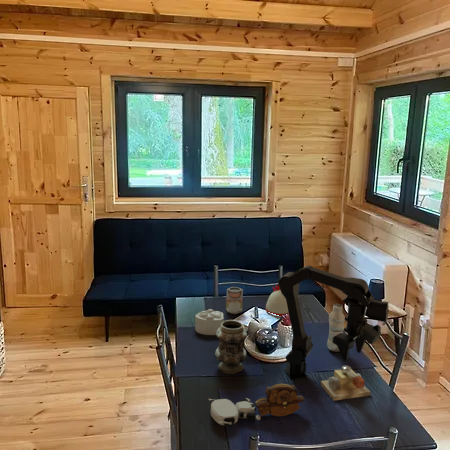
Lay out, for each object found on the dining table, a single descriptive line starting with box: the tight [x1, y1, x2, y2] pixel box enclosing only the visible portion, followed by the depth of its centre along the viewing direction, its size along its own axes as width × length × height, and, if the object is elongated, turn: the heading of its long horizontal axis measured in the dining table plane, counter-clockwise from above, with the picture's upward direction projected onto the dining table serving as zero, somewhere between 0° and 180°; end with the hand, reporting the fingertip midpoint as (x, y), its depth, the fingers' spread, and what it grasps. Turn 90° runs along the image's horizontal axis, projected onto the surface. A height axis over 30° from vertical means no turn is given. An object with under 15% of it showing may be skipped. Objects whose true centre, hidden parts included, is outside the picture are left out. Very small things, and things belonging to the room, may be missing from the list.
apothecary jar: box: [214, 319, 248, 375], centre depth 170 cm, size 12×12×18 cm
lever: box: [341, 365, 366, 388], centre depth 153 cm, size 11×3×2 cm, turn 14°
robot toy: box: [207, 397, 261, 426], centre depth 141 cm, size 12×4×15 cm
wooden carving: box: [254, 383, 305, 417], centre depth 142 cm, size 16×5×10 cm, turn 106°
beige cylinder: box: [225, 286, 244, 315], centre depth 224 cm, size 9×8×12 cm
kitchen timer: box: [265, 284, 289, 316], centre depth 225 cm, size 14×14×15 cm
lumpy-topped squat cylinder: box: [194, 308, 225, 336], centre depth 203 cm, size 10×13×9 cm
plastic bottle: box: [326, 303, 346, 353], centre depth 185 cm, size 6×7×20 cm
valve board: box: [320, 368, 371, 401], centre depth 157 cm, size 14×10×7 cm
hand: (352, 356), depth 156 cm, fingers open, 9 cm apart
